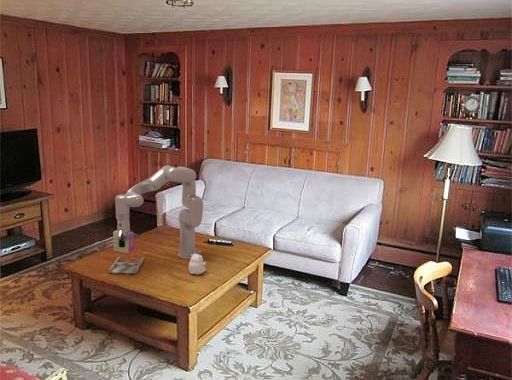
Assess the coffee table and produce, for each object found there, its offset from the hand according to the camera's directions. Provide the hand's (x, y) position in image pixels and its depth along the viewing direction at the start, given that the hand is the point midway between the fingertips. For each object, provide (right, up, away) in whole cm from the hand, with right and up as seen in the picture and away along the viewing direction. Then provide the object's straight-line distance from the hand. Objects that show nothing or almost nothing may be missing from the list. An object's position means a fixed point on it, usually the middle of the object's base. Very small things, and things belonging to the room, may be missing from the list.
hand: (123, 244), depth 253 cm
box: (0, -4, +1) cm, 4 cm away
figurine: (+42, -18, +5) cm, 46 cm away
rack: (-1, -15, +9) cm, 18 cm away
